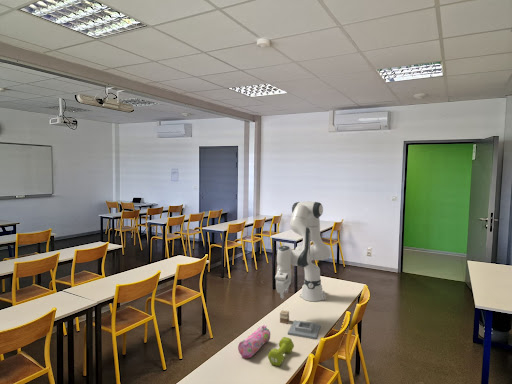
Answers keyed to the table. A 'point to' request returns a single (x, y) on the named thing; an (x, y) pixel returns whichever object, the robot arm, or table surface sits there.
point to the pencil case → (254, 342)
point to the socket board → (304, 329)
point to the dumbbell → (280, 351)
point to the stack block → (284, 316)
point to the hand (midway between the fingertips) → (284, 295)
